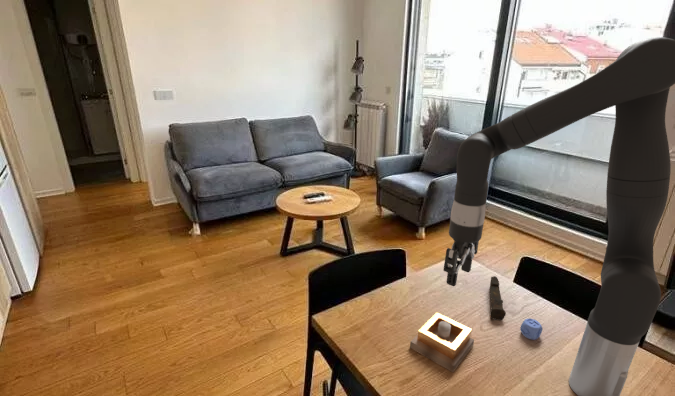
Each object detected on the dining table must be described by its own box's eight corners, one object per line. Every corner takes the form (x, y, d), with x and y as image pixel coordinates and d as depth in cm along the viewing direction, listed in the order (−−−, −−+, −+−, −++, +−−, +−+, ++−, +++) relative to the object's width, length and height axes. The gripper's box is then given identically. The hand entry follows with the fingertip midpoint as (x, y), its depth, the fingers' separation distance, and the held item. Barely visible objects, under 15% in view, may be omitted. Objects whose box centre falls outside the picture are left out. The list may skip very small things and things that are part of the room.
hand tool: (504, 322, 107) (507, 309, 105) (489, 319, 108) (492, 306, 106) (500, 287, 123) (503, 275, 122) (488, 284, 125) (490, 272, 123)
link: (470, 338, 97) (471, 329, 96) (453, 359, 90) (454, 350, 89) (435, 321, 103) (436, 312, 102) (417, 339, 96) (418, 330, 95)
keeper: (473, 345, 97) (477, 324, 95) (452, 372, 89) (456, 349, 86) (432, 324, 105) (434, 304, 102) (409, 347, 96) (412, 325, 94)
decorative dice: (532, 341, 99) (535, 329, 98) (518, 333, 102) (521, 321, 101) (540, 336, 101) (544, 324, 100) (527, 327, 104) (530, 316, 103)
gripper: (470, 233, 80) (460, 296, 86) (494, 214, 90) (484, 271, 96) (438, 223, 85) (431, 283, 90) (464, 206, 95) (456, 261, 100)
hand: (458, 277), depth 93 cm, fingers open, 8 cm apart
